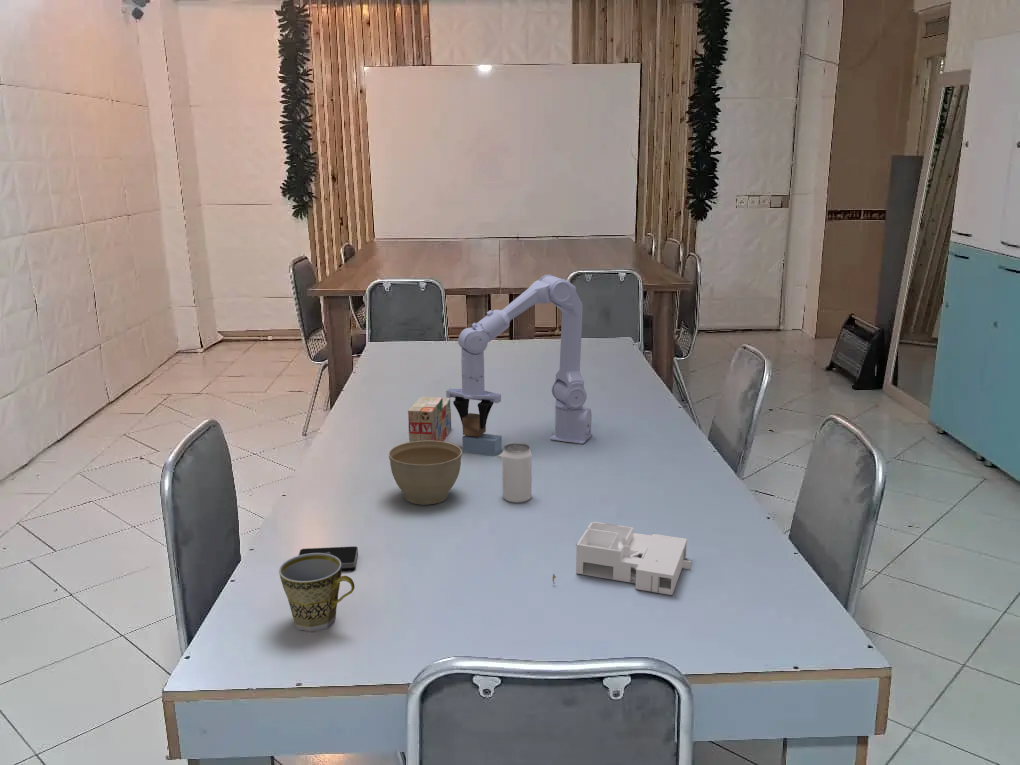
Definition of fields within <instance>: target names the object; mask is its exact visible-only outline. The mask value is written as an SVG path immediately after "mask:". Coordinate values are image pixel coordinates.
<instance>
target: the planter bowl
mask: <svg viewBox="0 0 1020 765" xmlns="http://www.w3.org/2000/svg"><path fill="white" fill-rule="evenodd" d="M462 456H463V449H462V448H461V447H459V445H456V444H453V443H451V442H447V441H443V442H442V441H415V442H409V441H407V442H404V443H401V444H398V445H396V446H394V447H392V448H391V449H390V450H389V452H388V458H389V462H390V463H389V464H390V469H391V473H392V476H393V479H394V481H395V483H396V485H397V487H398V488H399V490H400V491H401V492H402V493H403V495H404V498H405V500H406V501H407V502H409V503H411V504H414V505H415V504H416V505H421V506H422V505H425V506H426V505H434V504H439V503H441V502H444V501H446V499H447V498H448V496H449V492H450V491H451V489H452V488H453V486H454V485H455V483H456V481H457V479H458V476H459V474H460V470H461V466H462V465H461V462H462Z"/></svg>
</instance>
